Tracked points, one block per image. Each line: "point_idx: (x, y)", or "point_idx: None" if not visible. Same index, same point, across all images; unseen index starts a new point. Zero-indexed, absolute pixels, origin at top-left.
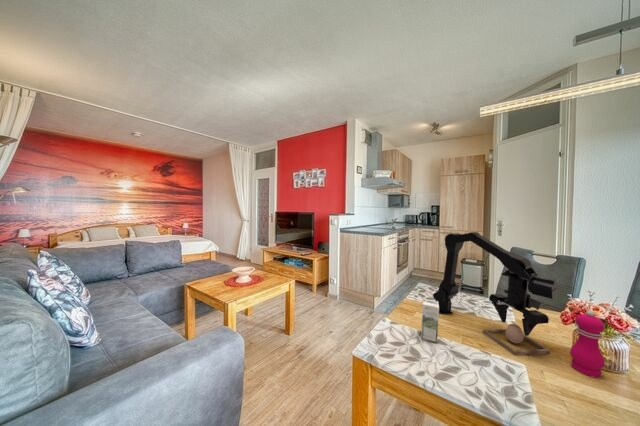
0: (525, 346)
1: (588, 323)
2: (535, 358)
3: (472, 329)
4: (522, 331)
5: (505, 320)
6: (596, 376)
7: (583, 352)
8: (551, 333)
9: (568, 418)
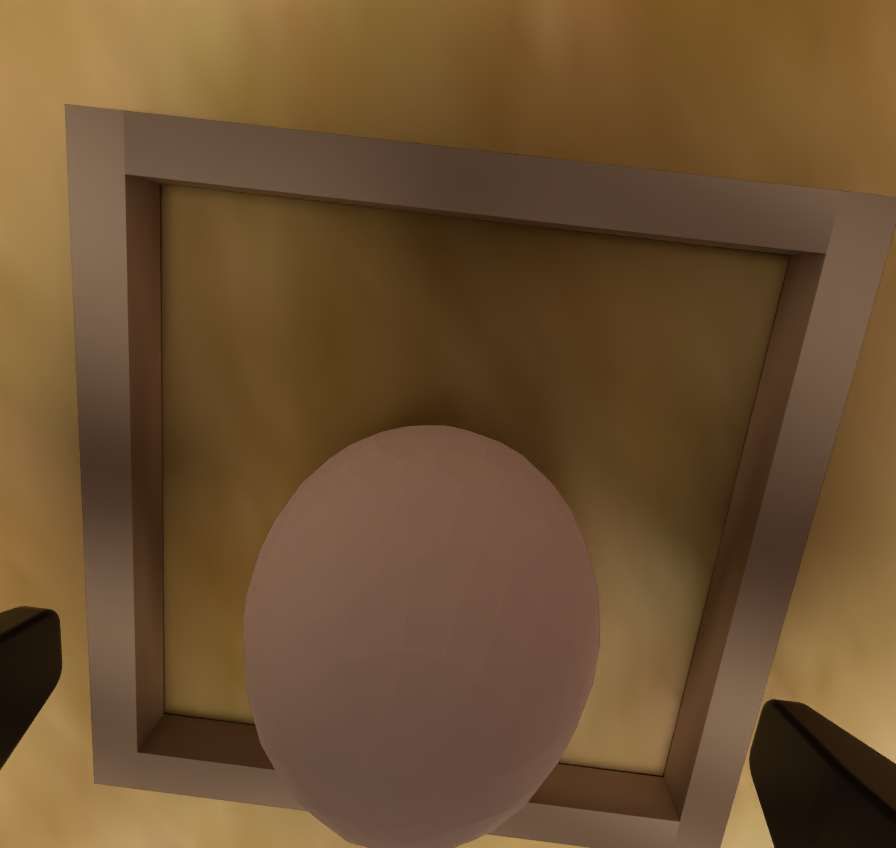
0: (571, 426)
1: None
2: (838, 600)
3: (33, 813)
4: (560, 587)
5: (11, 641)
6: None
7: None
8: None
9: None
